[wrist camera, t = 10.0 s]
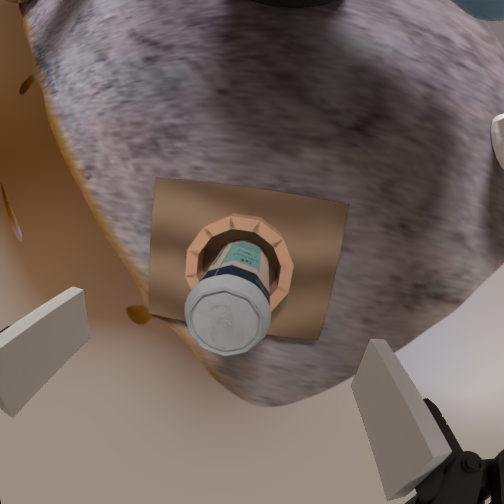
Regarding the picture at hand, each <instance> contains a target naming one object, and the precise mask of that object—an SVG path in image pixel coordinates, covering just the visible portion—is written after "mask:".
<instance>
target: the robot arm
mask: <svg viewBox="0 0 504 504" xmlns="http://www.w3.org/2000/svg"><path fill="white" fill-rule="evenodd" d="M254 1H257V2H261V3H265V4H269V5H275V6H283V7H311V6H317V5H322V4H326V3H329V2H331V1H334V0H254ZM451 1H452V2H454V3H455V4H456V5H457V6H459V7H460V8H461V9H462V10H464V11H465V12H466V13H468V14H469V15H471V16H473V17H475V18H477V19H481V20H485V21H503V20H504V0H451ZM89 339H90V334H89V328H88V321H87V314H86V306H85V297H84V290H83V289H79V288H76V287H71V288H69V289H67V290H66V291H64V292H63V293H61V294H59V295H58V296H56V297H55V298H53V299H51V300H50V301H48V302H47V303H45V304H43V305H42V306H40V307H39V308H37V309H36V310H34V311H32V312H31V313H29V314H28V315H26V316H25V317H23V318H22V319H21V320H19V321H17V322H16V323H14V324H13V325H11V326H8V327H6V328H4V329H3V330H2V331H0V408H1V409H2V410H3V411H4V412H5V413H7V414H8V415H9V416H10V417H12V418H13V417H15V415H16V414H17V413H18V412H19V411H20V410H21V409H22V408H23V406H24V405H25V404H26V403H27V402H28V401H29V400H30V399H31V398H32V397H33V396H34V395H35V394H36V392H38V390H39V389H40V388H41V387H42V386H43V385H44V384H45V383H46V382H47V381H48V380H49V379H50V378H51V377H52V376H53V375H54V374H55V373H56V372H57V371H58V370H59V369H60V368H61V367H62V366H63V365H64V364H65V363H66V362H67V361H68V360H69V359H70V358H71V357H72V356H73V355H74V354H75V353H76V352H77V351H78V350H79V349H80V348H81V347H82V346H83V345H84V344H85V343H86V342H87V341H88V340H89ZM351 387H352V390H353V393H354V396H355V399H356V402H357V404H358V408H359V411H360V413H361V417H362V419H363V423H364V426H365V429H366V432H367V435H368V438H369V441H370V444H371V448H372V451H373V454H374V457H375V461H376V464H377V467H378V471H379V474H380V477H381V481H382V484H383V488H384V492H385V495H386V499H387V501H388V500H393V499H397V498H401V497H404V496H406V495H407V494H409V493H410V492H411V491H412V490H413V489H414V488H415V489H416V492H417V494H416V495H415V496H414V497H413V498H411V499H410V500H409V501H407V502H406V503H405V504H485V500H486V499H488V498H489V497H490V496H491V502H490V503H489V504H504V450H502V451H501V452H500V453H499V454H498V455H497V456H496V457H495V458H494V459H485V460H482V459H481V458H480V457H479V456H478V454H476V453H474V452H471V451H465V452H463V450H462V449H461V447H460V445H459V443H458V441H457V440H456V438H455V436H454V435H453V433H452V431H451V429H450V428H449V426H448V425H446V421H445V419H444V418H443V417H442V414H441V413H440V411H439V409H438V408H437V406H436V405H435V404H434V403H432V402H431V401H430V400H429V399H428V398H427V399H422V397H421V395H420V394H419V392H418V390H417V389H416V387H415V385H414V384H413V382H412V381H411V379H410V378H409V376H408V374H407V373H406V371H405V369H404V368H403V366H402V365H401V363H400V362H399V360H398V359H397V357H396V355H395V354H394V352H393V351H392V349H391V348H390V346H389V345H388V343H387V342H386V340H385V339H372V338H370V340H369V343H368V345H367V348H366V351H365V353H364V356H363V358H362V361H361V363H360V365H359V368H358V370H357V373H356V375H355V377H354V380H353V382H352V384H351ZM0 504H1V501H0Z"/></svg>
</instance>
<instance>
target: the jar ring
mask: <svg viewBox="0 0 504 504" xmlns="http://www.w3.org/2000/svg"><path fill="white" fill-rule="evenodd" d="M230 229H237V230H244V231H251V232H256V233H257V234H258V235H259V236H261V237H262V238H263V239H265V240H266V241H267V242H268V243H270V244H271V245H272V246H273V247H274V250H275V252H276V255H277V257H278V260H279V267H278V273H277V279H276V280H275V281H274V282H273V283H272V285H271V286H270V287H269V292H270V310H271V312H272V311H273V309H274V308H275V307H276V306H277V305H278V304H279V303H280V302H281V301H282V299H283V298H284V297H285V296H286V295H287V294H288V293H289V288H290V283H291V278H292V272H293V267H294V265H293V262H292V260H291V257H290V254H289V252H288V249H287V246H286V244H285V241H284V238H283V236H282V234H281V233H280V232H279V231H277V230H276V229H275V228H274V227H272V226H271V225H270V224H269V223H267V222H266V221H265V220H264V219H262V218H261V217H255V216H249V215H242V214H231V215H229V216H226V217H224V218H222V219H219V220H217V221H214V222H212V223H210V224H208V225H206V226H205V227H203V229H202V230H201V231H200V233H199V234H198V235H197V237H196V238H195V240H194V241H193V242H192V244H191V245H190V246H189V248H188V249H187V257H186V270H185V278H186V280H187V282H188V284H189V286H190V288H191V290H192V289H193V287H194V286H196V285H197V284H198V282H199V281H200V280H201V278H202V277H203V275H204V274H205V272H204V269H203V259H204V249H205V247H206V246H207V244H208V243H209V242H210V240H211V239H212V238H213V236H215V235H218V234H220V233H223V232H225V231H228V230H230Z"/></svg>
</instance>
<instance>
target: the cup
mask: <svg viewBox="0 0 504 504" xmlns="http://www.w3.org/2000/svg"><path fill="white" fill-rule="evenodd" d="M491 139H492V146H493V149H494V152H495V155H496V158H497V160H498V162H499V164H500V166H501V167H502V169H503V170H504V114H500V115H497V116H495V118H494V119H493V121H492V124H491Z"/></svg>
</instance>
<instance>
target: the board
mask: <svg viewBox="0 0 504 504" xmlns="http://www.w3.org/2000/svg"><path fill="white" fill-rule="evenodd" d="M348 208H349V204H345V203H340V202H335V201H330V200H324V199H319V198H313V197H308V196H302V195H296V194H290V193H284V192H278V191H271V190H265V189H258V188H251V187H243V186H236V185H228V184H220V183H211V182H202V181H192V180H182V179H171V178H159V177H156V183H155V192H154V202H153V213H152V225H151V240H150V260H149V313H150V314H154V315H159V316H163V317H168V318H172V319H177V320H182V321H186V319H185V315H184V308H185V303H186V299H187V297H188V295H189V293H190V292H191V288H190V286H189V284H188V282H187V280H186V278H185V270H186V257H187V249H188V248H189V246H190V245H191V244H192V242H193V241H194V240H195V238H196V237H197V235H198V234H199V233H200V231H201V230H202V229H203V227H205V226H206V225H208V224H210V223H212V222H214V221H217V220H219V219H222V218H224V217H226V216H229V215H231V214H242V215H249V216H255V217H261V218H262V219H264V220H265V221H266V222H267V223H269V224H270V225H271V226H272V227H274V228H275V229H276V230H277V231H279V232H280V233H281V234H282V236H283V238H284V241H285V244H286V246H287V249H288V252H289V254H290V257H291V260H292V262H293V265H294V267H293V272H292V278H291V283H290V288H289V293H288V294H287V295H286V296H285V297H284V298H283V299H282V301H281V302H280V303H279V304H278V305H277V306H276V307H275V308H274V309H273V311H272V312H271V324H270V327H269V330H268V331H267V333H266V335H274V336H282V337H290V338H300V339H309V340H319V336H320V333H321V329H322V325H323V322H324V318H325V314H326V310H327V307H328V303H329V299H330V295H331V291H332V286H333V282H334V278H335V274H336V269H337V265H338V260H339V255H340V250H341V246H342V241H343V235H344V230H345V225H346V219H347V213H348ZM238 239H246V240H250V241H253V242H255V243H257V244H258V245H260V246H261V247H262V249H263V250H264V251H265V253H266V254H267V257H268V261H269V287H270V286H271V285H272V283H273V282H274V281H275V280H276V279H277V273H278V267H279V260H278V257H277V255H276V252H275V250H274V247H273V246H272V245H271V244H270V243H268V242H267V241H266V240H265V239H263V238H262V237H261V236H259V235H258V234H257V233H256V232H251V231H244V230H237V229H230V230H228V231H225V232H223V233H220V234H218V235H215V236H213V238H212V239H211V240H210V242H209V243H208V244H207V246H206V247H205V249H204V259H203V269H204V272H205V273H206V271H207V270H208V268H209V267H210V266H211V264H212V263H213V261H214V260H215V259H216V257H217V256H218V254H219V252H220V250H221V249H222V248H223V247H224V246H225V245H226V244H227V243H229V242H231V241H234V240H238Z"/></svg>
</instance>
